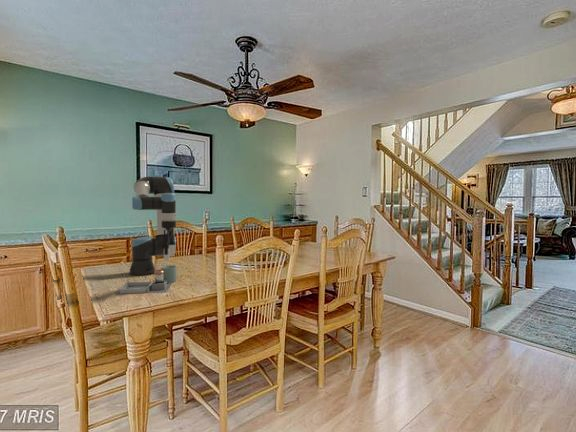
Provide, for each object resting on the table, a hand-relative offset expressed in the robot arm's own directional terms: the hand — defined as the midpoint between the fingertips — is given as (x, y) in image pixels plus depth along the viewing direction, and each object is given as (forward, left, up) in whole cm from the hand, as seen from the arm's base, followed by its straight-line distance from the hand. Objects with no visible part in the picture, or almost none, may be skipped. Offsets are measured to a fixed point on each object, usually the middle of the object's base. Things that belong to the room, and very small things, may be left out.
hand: (169, 258), depth 179 cm
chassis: (+13, -9, -15) cm, 22 cm away
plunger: (+13, -3, -10) cm, 17 cm away
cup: (0, 0, -15) cm, 15 cm away
